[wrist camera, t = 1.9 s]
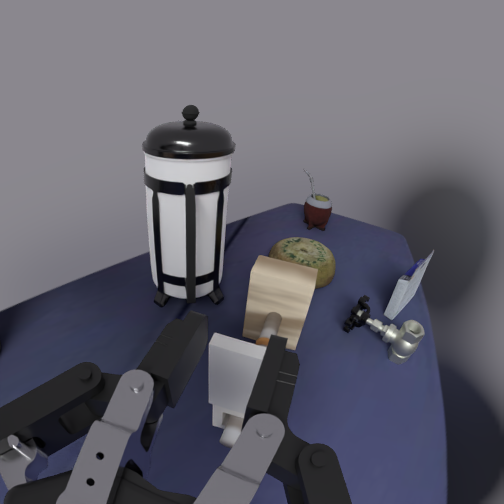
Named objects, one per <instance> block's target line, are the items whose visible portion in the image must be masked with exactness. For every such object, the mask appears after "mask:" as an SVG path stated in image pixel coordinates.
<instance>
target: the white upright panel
mask: <svg viewBox="0 0 504 504" xmlns="http://www.w3.org/2000/svg"><path fill="white" fill-rule="evenodd" d="M266 348H267V347H263V346H260V345H256V344H252V343H249V342H245V341H242V340H238V339H235V338H232V337H228V336H225V335H222V334H218V333H214V335H213V337H212V339H211V341H210V343H209V403H211V404H213V426H216V427H219V428H222V429H225V426H226V424H227V421H228V419H229V416H230V414H231V415H234V416H237V417H241V418H244V415H245V411H246V406H247V403H248V401H249V398H250V395H251V392H252V389H253V386H254V384H255V381H256V378H257V375H258V372H259V369H260V366H261V363H262V360H263V357H264V354H265V351H266Z"/></svg>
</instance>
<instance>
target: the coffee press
mask: <svg viewBox="0 0 504 504" xmlns="http://www.w3.org/2000/svg"><path fill="white" fill-rule="evenodd" d="M182 114H183V117H184V118H185V119H186V120H185V121H178V122H169V123H165V124H161V125H159V126H157V127H155V128H153V129H152V130H151V131H150V132H149V133H148V135H147V138H146V140H145V141H144V142H143V144H142V149H143V151H144V153H145V168H144V183H145V185H146V202H147V221H148V235H149V248H150V259H151V269H152V276H153V280H154V283H155V284H156V286H157V287H158V291H157V294H156V296H155V299H154V303H155V304H157V305H158V306H160V307H163V306H164V305H165V304H166V302H167V300H168V298H169V297H170V296H173V297H176V298H184V299H187V303H195V301H196V298H197V297H201V296H204V295H206V294H207V295H208V296H209V297H210V299H211V300H212V301H213V303H214V304H217V305H218V304H219V303H220V302H221V301H223V300H224V296H223V294H222V292H221V290H220V288H219V283H220V281H221V278H222V270H223V256H224V243H225V229H226V216H227V203H228V191H229V185H230V183H231V175H232V168H231V158H232V154H233V153H234V151H235V143H234V142H233V141H232V137H231V135H230V133H229V132H228V131H227V130H226V129H225V128H223V127H221V126H219V125H216V124H213V123H207V122H199V121H194V120H195V119H196V118H197V116H198V114H199V111H198V109H197V107H196V106H194V105H189V106H186V107H185V108H184V109H183V112H182ZM213 290H214V291H213Z"/></svg>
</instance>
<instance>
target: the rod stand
mask: <svg viewBox="0 0 504 504" xmlns="http://www.w3.org/2000/svg"><path fill="white" fill-rule="evenodd" d="M317 272H318V269H315V268H311V267H306V266H302V265H298V264H294V263H290V262H286V261H282V260H278V259H274V258H270V257H266V256H262V255H259V256H258V258H257V260H256V262H255V264H254V266H253V268H252V270H251V275H250V283H249V290H248V298H247V305H246V313H245V320H244V328H243V335H242V336H243V337H247V338H250V339H254V340H257V341H256V343H255V344H256V345H260V346H263V347H267V345H268V342H269V339H270V336H271V334H273V335H277V336H280V337H284V338H288V340H287V344H286V348H288V349H292V350H295V349H296V346H297V343H298V340H299V337H300V334H301V330H302V327H303V324H304V321H305V318H306V315H307V312H308V309H309V305H310V302H311V299H312V295H313V292H314V289H315V284H316V278H317ZM243 420H244V418H241V417H237V416H234V415H231V414H230V416H229V419H228V421H227V424H226V426H225V429H224V431H223V434H222V436H221V439H220V443H221V444H222V445H224V446H226V447H229V448H232V447H233V445H234V444H235V442H236V440H237V439H238V437H239V435H240V433H241V429H242V424H243Z"/></svg>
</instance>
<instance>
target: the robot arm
mask: <svg viewBox="0 0 504 504" xmlns="http://www.w3.org/2000/svg"><path fill="white" fill-rule="evenodd" d="M207 340H208V316H207V315H204V314H200V313H197V312H194V311H190V312H189V313H188V314H187V316H186V318H185V319H184V321H183V320H180V319H177V318H176V319H175V320H173V321H172V322H170V323H169V324H167V325H166V327H165V328H164V330H163V331H162V333H161V335H160V336H159V337H158V338H157V340H156V342H155V343H154V344H153V346H152V347H151V349H150V350H149V352H148V353H147V355H146V356H145V357H144V359H143V360H142V362H141V363H140V365H139V366H138V367H137V369H135V370H130V371H128V372H126V373H125V374H124V375H115V374H109V373H102V372H101V370H100V369H99V367H98V366H97V365H95V364H94V363H91V362H83V363H80V364H78V365H76V366H74V367H73V368H71V369H69V370H67V371H65V372H64V373H62V374H60V375H58V376H57V377H55V378H53V379H51V380H49V381H48V382H46V383H44V384H42V385H40V386H39V387H37V388H35V389H33V390H31V391H30V392H28V393H26V394H24V395H22V396H21V397H19V398H17V399H15V400H13V401H12V402H10V403H8V404H6V405H4V406H2V407H1V408H0V473H1V475H2V478H3V480H4V482H5V484H6V486H7V488H8V490H9V491H8V492H7V494H6V496H5V499H4V504H249V503H250V501H251V500H252V498H253V496H254V494H255V493H256V491H257V489H258V487H259V485H260V483H261V481H262V479H263V477H264V475H265V473H268V474H269V475H271V476H273V477H274V478H276V479H278V480H280V481H281V482H283V485H284V489H285V494H286V498H287V502H288V504H352V502H351V499H350V496H349V493H348V490H347V487H346V483H345V480H344V477H343V474H342V471H341V468H340V465H339V462H338V459H337V456H336V453H335V452H334V450H333V449H332V448H330V447H329V446H327V445H324V444H319V443H316V444H309V443H307V442H305V441H303V440H301V439H300V438H298V437H296V436H295V435H294V434H293V433H292V432H291V430H290V429H289V427H288V423H287V416H288V412H289V408H290V404H291V400H292V396H293V392H294V387H295V383H296V379H297V374H298V370H299V365H300V364H299V360H298V356H297V354H296V353H292V352H288V351H285V348H286V344H287V340H288V338H284V337H280V336H277V335H273V334H271V336H270V339H269V342H268V345H267V348H266V351H265V354H264V357H263V360H262V363H261V366H260V369H259V372H258V375H257V378H256V381H255V384H254V386H253V389H252V392H251V395H250V398H249V401H248V403H247V406H246V411H245V415H244V420H243V424H242V429H241V433H240V435H239V437H238V439H237V440H236V442H235V444H234V445H233V447H232V449H231V450H230V452H229V453H228V455H227V457H226V458H225V460H224V462H223V463H222V464H221V465H220V466H219V467H218V468H217V469H216V471H215V472H214V474H213V475H212V477H211V478H210V480H209V481H208V483H207V484H206V486H205V487H204V489H203V490H202V492H201V493H200V495H199V496H198V498H195V497H192V496H190V495H185V494H178V493H172V492H166V491H161V490H159V489H157V488H156V487H154V486H153V485H152V484H150V483H149V482H148V481H146V480H147V477H148V473H149V470H150V465H151V452H152V449H153V446H154V443H155V440H156V436H157V433H158V430H159V427H160V424H161V421H162V417H163V414H162V413H163V412H164V410H165V408H166V406H169V407H172V408H174V407H175V405H176V403H177V402H178V400H179V398H180V396H181V394H182V392H183V390H184V388H185V386H186V385H187V383H188V381H189V379H190V377H191V375H192V373H193V371H194V369H195V367H196V366H197V364H198V362H199V360H200V358H201V356H202V354H203V352H204V350H205V348H206V345H207ZM0 350H1V342H0ZM87 433H88V435H87V437H86V439H85V442H84V444H83V447H82V449H81V451H80V454H79V456H78V459H77V461H76V464H75V466H74V469H73V470H70V471H67V472H64V473H60V474H57V475H54V476H50V477H47V478H43V479H39V480H37V478H38V475H39V473H40V472H41V471H42V470H44V469H47V467H48V456H50V455H51V454H53V453H55V452H57V451H58V450H60V449H62V448H64V447H65V446H67V445H69V444H70V443H72V442H74V441H75V440H77V439H79V438H80V437H82V436H84V435H85V434H87ZM102 458H104V459H102Z"/></svg>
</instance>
